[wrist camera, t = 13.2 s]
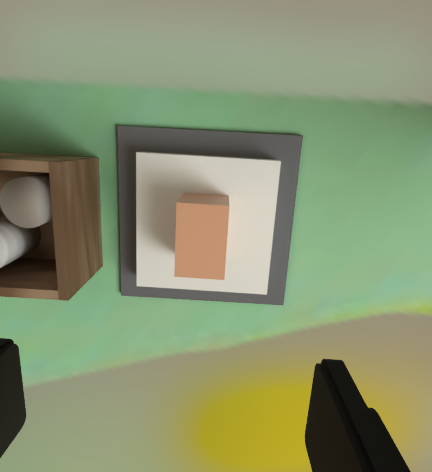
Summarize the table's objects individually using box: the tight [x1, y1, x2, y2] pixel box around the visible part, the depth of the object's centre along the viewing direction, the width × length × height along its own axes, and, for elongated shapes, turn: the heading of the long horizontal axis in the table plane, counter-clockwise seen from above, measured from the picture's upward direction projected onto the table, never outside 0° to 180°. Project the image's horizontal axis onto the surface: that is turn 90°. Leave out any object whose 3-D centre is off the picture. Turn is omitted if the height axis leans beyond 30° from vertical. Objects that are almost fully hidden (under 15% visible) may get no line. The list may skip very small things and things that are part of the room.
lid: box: [136, 152, 281, 295], centre depth 30 cm, size 13×13×7 cm
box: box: [0, 152, 103, 300], centre depth 30 cm, size 11×11×8 cm
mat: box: [117, 126, 303, 305], centre depth 34 cm, size 17×17×1 cm
